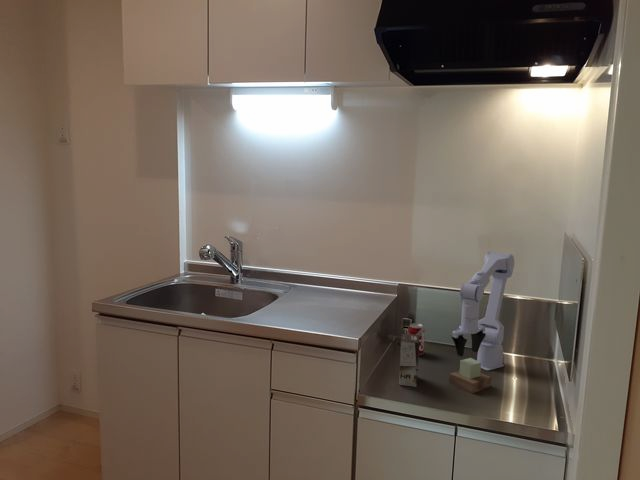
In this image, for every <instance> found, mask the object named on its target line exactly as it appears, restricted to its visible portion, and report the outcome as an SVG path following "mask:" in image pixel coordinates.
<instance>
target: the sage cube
mask: <svg viewBox="0 0 640 480" xmlns="http://www.w3.org/2000/svg"><path fill="white" fill-rule="evenodd" d="M459 370H460V372H459V374H461V375H463V376H465V377H467V378H469V379H472V378H475V377H479V376H480V373H481V371H482V368H481V362H478V361H477V359H474V358H472V357H469V358H465V359H464V358H463V359H460V360H459Z"/></svg>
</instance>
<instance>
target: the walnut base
mask: <svg viewBox="0 0 640 480" xmlns="http://www.w3.org/2000/svg"><path fill="white" fill-rule="evenodd" d="M459 372H460V369H459V370H456V371H454V372H451V373H449V379H448V381H449V382H448V384H449V385H452V386H454V387H456V388H459V389H460V390H463V391H466V392H468V393H470V394H475V393H477V392H480V391H483V390H486V389H488V388H489V387H491V383H492V382H491V380H492V377H491V376H489V375H487V374H484V373H482V372H480V376H479V377H475V378H472V379H469V378H467V377H465V376H463V375H461V374H459Z"/></svg>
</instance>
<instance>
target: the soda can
mask: <svg viewBox="0 0 640 480" xmlns="http://www.w3.org/2000/svg"><path fill="white" fill-rule="evenodd" d="M425 332H426V330H425V328H424V324H421V323H415V322H414V323H410V324H409V327H408V328H407V334H415V335H419V356H422V355H424V353H425V338H426V337H425V335H426V333H425Z"/></svg>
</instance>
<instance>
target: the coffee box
mask: <svg viewBox="0 0 640 480" xmlns="http://www.w3.org/2000/svg"><path fill="white" fill-rule="evenodd" d="M399 351H400V353H399V354H400V355H399V378H398V385H399V386H406V387H413V388H417V383H418V374H419V373H418V372H419V360H420V359H419V358H420V357H419V335H415V334H408V333H402V334H401V338H400V350H399Z"/></svg>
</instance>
